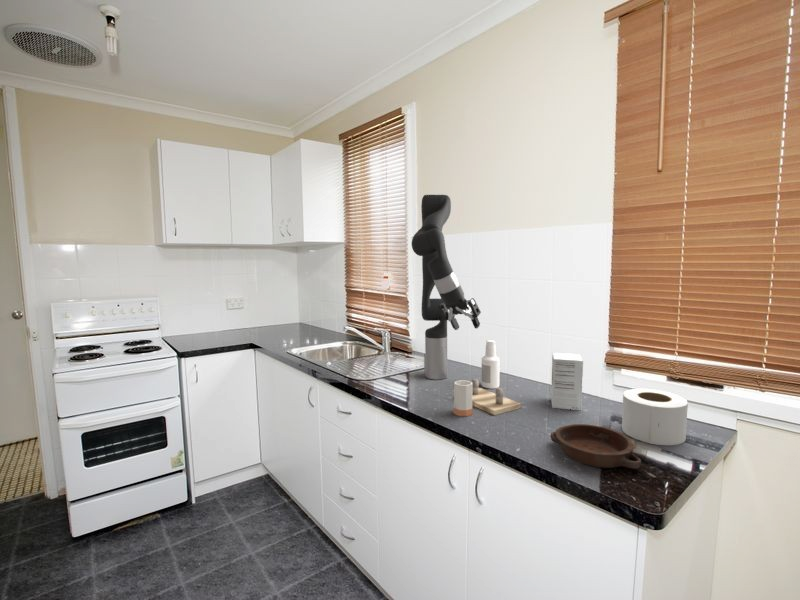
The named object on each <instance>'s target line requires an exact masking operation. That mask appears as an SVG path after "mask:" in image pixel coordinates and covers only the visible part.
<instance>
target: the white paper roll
mask: <svg viewBox="0 0 800 600" xmlns="http://www.w3.org/2000/svg"><path fill="white" fill-rule="evenodd" d="M688 405H689V402H688V400H687V399H686V398H684V397H682V396H680V395H678V394H676V393H673V392H668V391H664V390H660V389H653V388H652V389H651V388H632V389H627V390H624V392H623V393H622V414H621V415H622V419H621V430H622V431H623V433H624V434H626V436H629V437H630V438H633V439H636V440H638V441H641V442H644V443H648V444H652V445H660V446H677V445H682V444H684V443H685V442H686V437H687V421H688V420H687V419H688V408H689V407H688Z"/></svg>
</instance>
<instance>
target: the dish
mask: <svg viewBox="0 0 800 600" xmlns="http://www.w3.org/2000/svg"><path fill="white" fill-rule="evenodd" d="M550 440H551V441H552V442H553V443H554V444H557V445H559V447H560V448H561V451H562V452H563V454H564V455H566V456H567V457H569V458H570V459H571V460H574V461H575V462H579V463H582V464H584V465H586V466H587V465H588V466H591V467H596V468H607V469H608V468H609V469H610V468H612V469H613V468H618V467H624V468H629V469H635V470H636V469H638V470H639V469H640V468H641V466H642V465H641V464H642V459H641V458H640V457H638V456H637V455H636V454H635V453H633V451H634V449H635V447H636V446H635V443H634V442H633V440H632V439H631V437H628V435H625V434H623V433H621V432H619V431H617V430H614V429H612V428H608V427H606V426H601V425H594V424H585V423H584V424H583V423H582V424H581V423H575V424H568V425H564V426H560V427H558V428H557V429H556V430H555V431H552V432H551V433H550Z"/></svg>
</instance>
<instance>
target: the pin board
mask: <svg viewBox="0 0 800 600" xmlns="http://www.w3.org/2000/svg"><path fill="white" fill-rule="evenodd" d="M471 382H472V406H473V407H475V408H478V409H480V410H482V411H484V412H486V413H488V414H491V415H493V416H497V415H501V414H503V413H508V412H512V411H515V410H519V409H521V408H522V403H521V402H518V401H515V400H513V399H510V398H508V397H506V396H504V388H503V387H498V388H495V393H494V392H492V391H489V390H487V389H484V388H483V387H479V385H480V384H479V383H480V382H479V379H478V378H477V379H476V378H472V379H471Z"/></svg>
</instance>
